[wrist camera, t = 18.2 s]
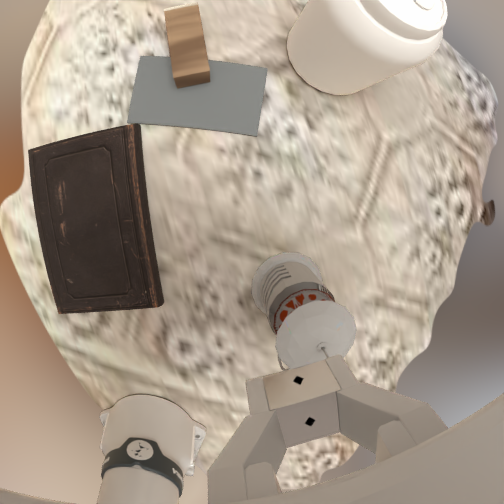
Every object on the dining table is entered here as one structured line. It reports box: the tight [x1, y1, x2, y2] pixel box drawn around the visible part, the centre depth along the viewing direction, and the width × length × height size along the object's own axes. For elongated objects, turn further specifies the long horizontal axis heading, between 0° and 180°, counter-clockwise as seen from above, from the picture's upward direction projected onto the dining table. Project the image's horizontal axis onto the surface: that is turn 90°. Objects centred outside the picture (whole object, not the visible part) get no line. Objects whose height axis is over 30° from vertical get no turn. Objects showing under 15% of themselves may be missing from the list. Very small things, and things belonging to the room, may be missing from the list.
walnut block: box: [164, 3, 210, 89], centre depth 30 cm, size 4×4×10 cm
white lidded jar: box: [286, 0, 447, 95], centre depth 25 cm, size 12×12×20 cm
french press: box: [251, 252, 357, 371], centre depth 30 cm, size 10×12×25 cm
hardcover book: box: [28, 124, 164, 314], centre depth 37 cm, size 16×23×2 cm
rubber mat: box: [127, 56, 267, 136], centre depth 34 cm, size 9×16×1 cm, turn 82°
